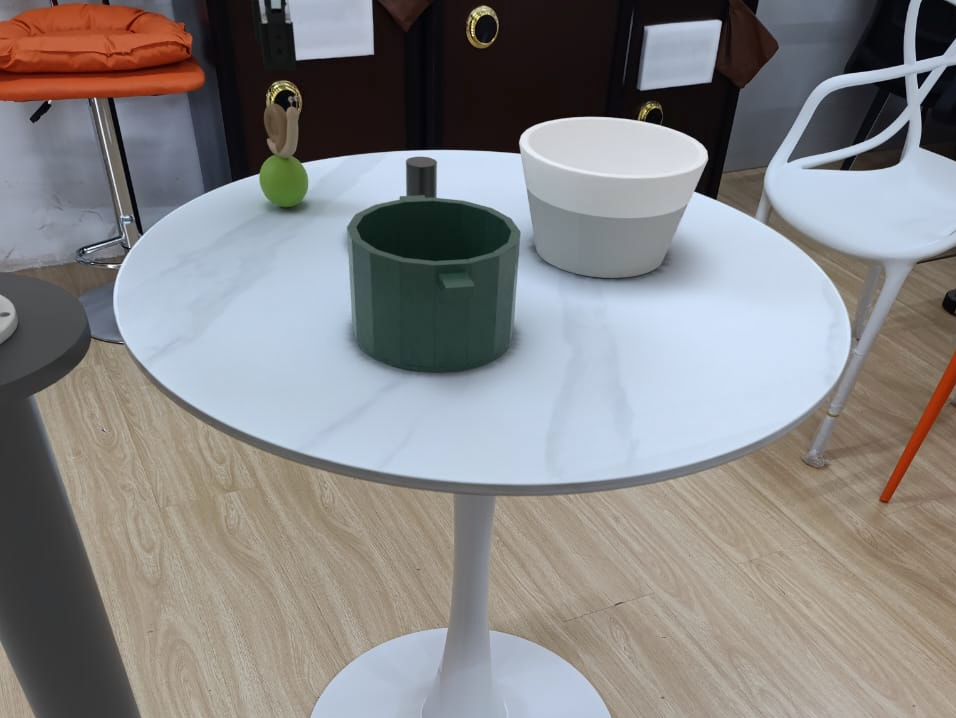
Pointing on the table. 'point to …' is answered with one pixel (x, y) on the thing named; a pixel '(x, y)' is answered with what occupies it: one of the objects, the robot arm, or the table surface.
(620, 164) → the bowl
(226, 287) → the table surface
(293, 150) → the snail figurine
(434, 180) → the lid
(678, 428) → the table surface
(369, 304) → the pot
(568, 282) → the table surface
